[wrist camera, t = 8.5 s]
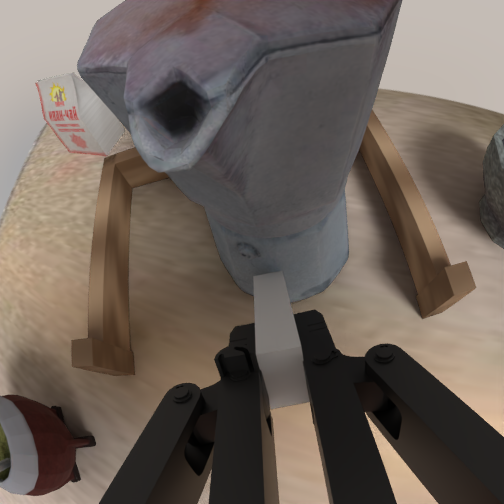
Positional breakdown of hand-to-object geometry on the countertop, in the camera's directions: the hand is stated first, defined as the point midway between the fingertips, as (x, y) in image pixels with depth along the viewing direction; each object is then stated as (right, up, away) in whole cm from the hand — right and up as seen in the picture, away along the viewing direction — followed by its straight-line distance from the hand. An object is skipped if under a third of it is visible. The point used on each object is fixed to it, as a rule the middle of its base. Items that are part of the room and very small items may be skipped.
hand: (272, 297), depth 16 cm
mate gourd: (-15, -12, +1) cm, 19 cm away
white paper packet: (-19, +15, +15) cm, 28 cm away
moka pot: (+1, +3, +6) cm, 7 cm away
